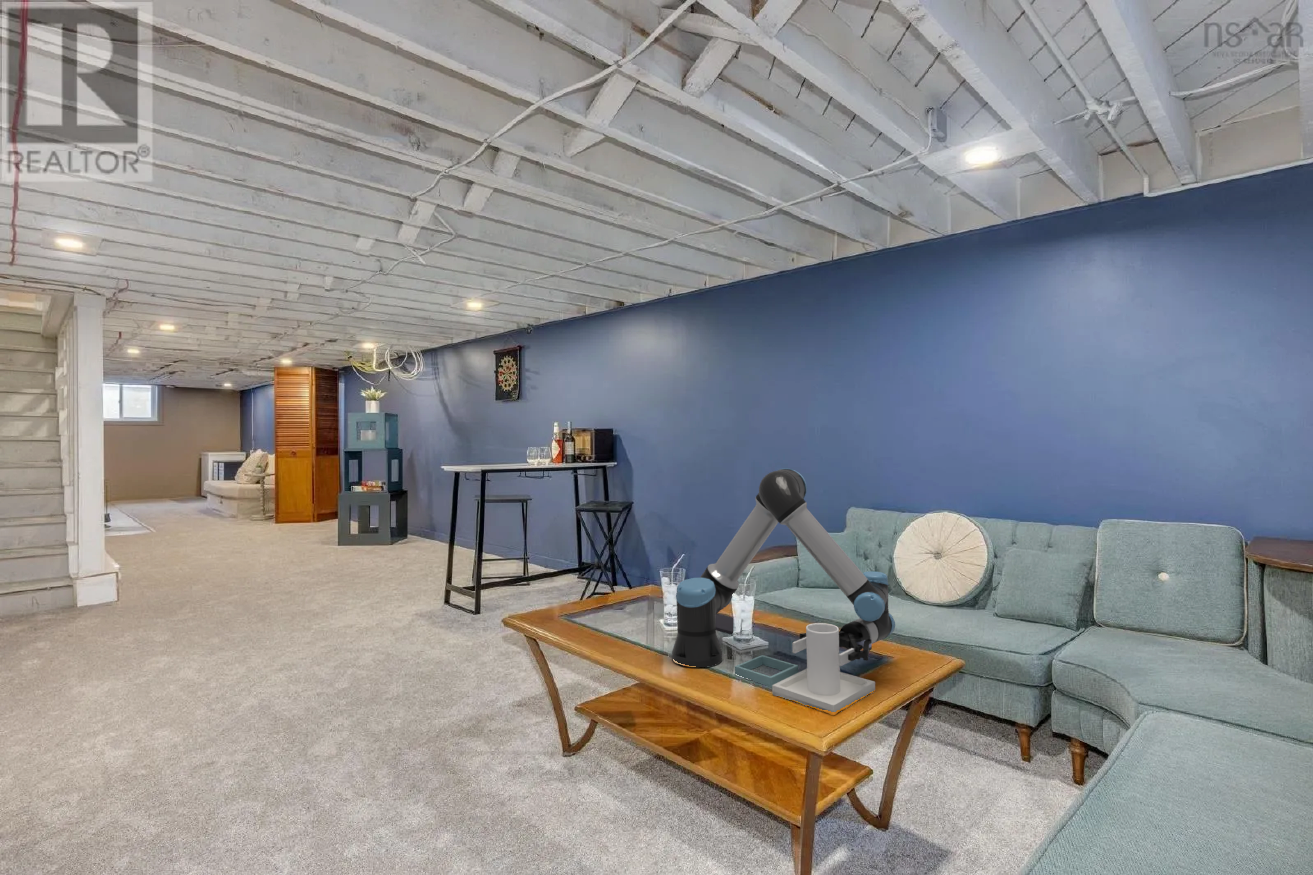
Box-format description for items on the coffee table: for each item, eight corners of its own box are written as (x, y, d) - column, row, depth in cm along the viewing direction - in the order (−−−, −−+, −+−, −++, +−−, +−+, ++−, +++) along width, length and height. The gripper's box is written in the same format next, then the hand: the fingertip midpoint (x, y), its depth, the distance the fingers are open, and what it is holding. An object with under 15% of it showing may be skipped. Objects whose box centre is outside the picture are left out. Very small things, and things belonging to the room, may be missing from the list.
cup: (804, 683, 170) (803, 623, 170) (835, 682, 170) (834, 622, 170) (811, 695, 162) (809, 632, 162) (843, 695, 162) (842, 632, 162)
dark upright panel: (687, 623, 231) (733, 636, 216) (687, 619, 231) (732, 631, 216) (711, 616, 240) (756, 627, 224) (711, 612, 240) (756, 623, 224)
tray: (834, 715, 153) (833, 705, 153) (772, 694, 166) (772, 685, 166) (875, 691, 166) (874, 681, 166) (815, 673, 179) (815, 664, 179)
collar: (771, 687, 170) (771, 678, 170) (734, 675, 180) (734, 666, 180) (798, 674, 179) (798, 665, 179) (762, 663, 188) (762, 654, 188)
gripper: (901, 658, 169) (861, 681, 155) (819, 638, 187) (776, 657, 173) (900, 630, 169) (860, 650, 155) (819, 612, 187) (775, 629, 173)
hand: (815, 654), depth 164 cm, fingers open, 13 cm apart
